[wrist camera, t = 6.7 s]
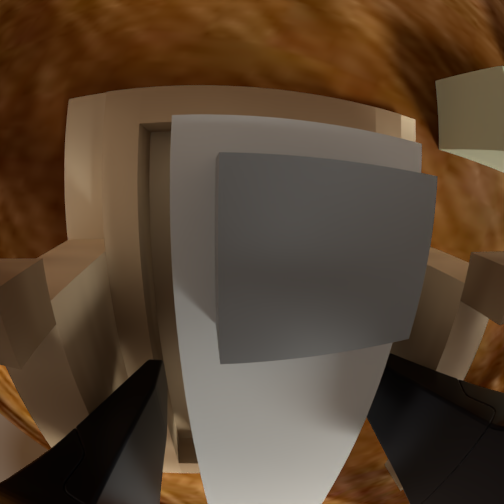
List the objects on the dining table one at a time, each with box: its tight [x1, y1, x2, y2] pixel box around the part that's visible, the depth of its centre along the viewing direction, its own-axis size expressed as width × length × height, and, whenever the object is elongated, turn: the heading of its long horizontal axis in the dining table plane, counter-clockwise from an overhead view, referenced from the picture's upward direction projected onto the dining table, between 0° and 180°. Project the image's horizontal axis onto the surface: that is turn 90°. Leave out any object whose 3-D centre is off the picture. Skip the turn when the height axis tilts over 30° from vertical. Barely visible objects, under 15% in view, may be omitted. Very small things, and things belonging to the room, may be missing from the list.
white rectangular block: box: [170, 114, 437, 504], centre depth 7 cm, size 12×4×6 cm, turn 178°
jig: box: [0, 85, 504, 491], centre depth 7 cm, size 16×13×7 cm
